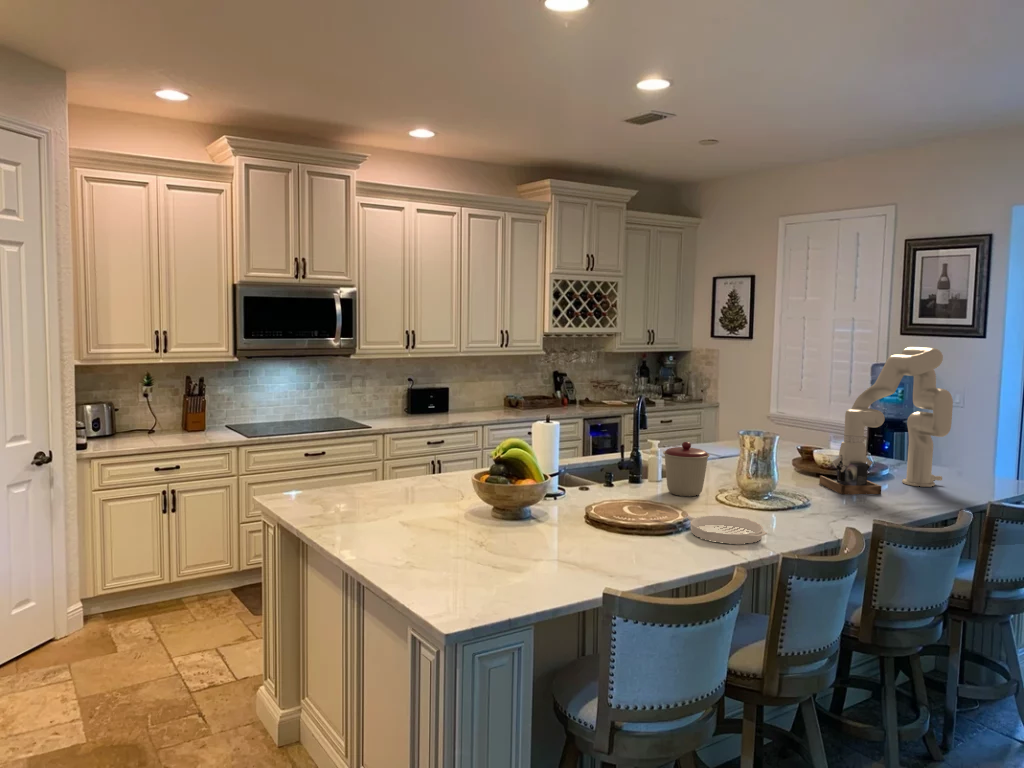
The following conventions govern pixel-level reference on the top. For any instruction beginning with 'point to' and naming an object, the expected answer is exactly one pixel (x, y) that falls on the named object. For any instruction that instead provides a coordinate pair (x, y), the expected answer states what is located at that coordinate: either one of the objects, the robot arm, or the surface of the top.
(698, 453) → the canister
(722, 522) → the pan
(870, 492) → the wooden u-shaped frame
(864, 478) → the small box
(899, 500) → the top surface
